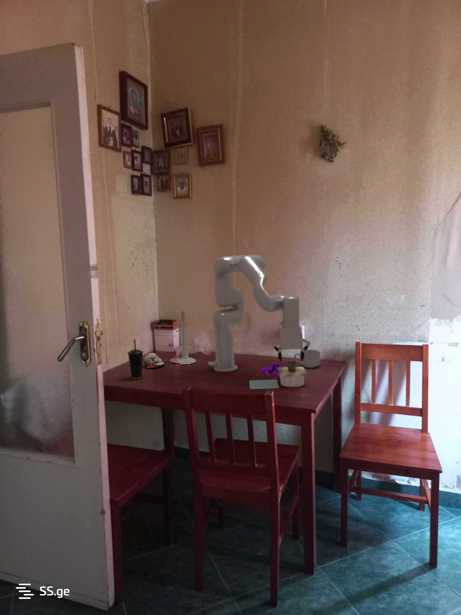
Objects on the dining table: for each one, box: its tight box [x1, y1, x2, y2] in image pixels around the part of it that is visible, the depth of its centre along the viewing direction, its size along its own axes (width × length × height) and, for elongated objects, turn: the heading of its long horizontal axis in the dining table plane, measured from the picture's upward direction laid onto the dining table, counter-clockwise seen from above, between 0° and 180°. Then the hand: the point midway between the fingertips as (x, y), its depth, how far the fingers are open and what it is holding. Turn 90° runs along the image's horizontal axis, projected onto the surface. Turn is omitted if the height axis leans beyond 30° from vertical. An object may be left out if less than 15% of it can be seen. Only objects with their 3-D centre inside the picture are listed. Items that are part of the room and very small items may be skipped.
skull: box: [143, 352, 165, 367], centre depth 255 cm, size 12×10×10 cm
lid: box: [278, 360, 308, 377], centre depth 210 cm, size 12×12×5 cm
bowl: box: [279, 376, 305, 388], centre depth 211 cm, size 10×10×6 cm
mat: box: [248, 379, 280, 390], centre depth 212 cm, size 13×13×1 cm
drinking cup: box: [127, 339, 144, 379], centre depth 231 cm, size 8×8×20 cm
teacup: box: [293, 348, 322, 369], centre depth 242 cm, size 14×11×8 cm
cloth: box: [259, 362, 281, 377], centre depth 231 cm, size 22×19×6 cm
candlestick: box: [176, 310, 197, 364], centre depth 258 cm, size 13×13×30 cm
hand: (291, 360), depth 210 cm, fingers open, 9 cm apart
